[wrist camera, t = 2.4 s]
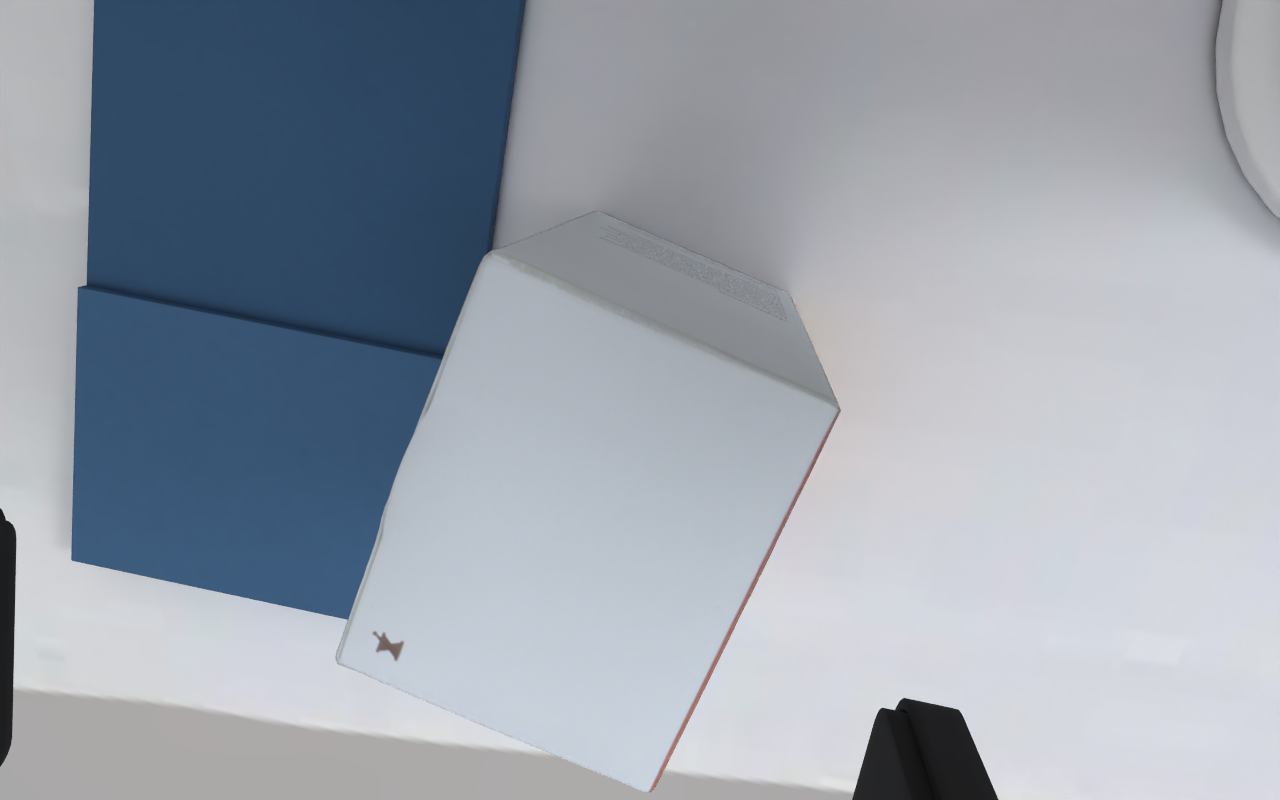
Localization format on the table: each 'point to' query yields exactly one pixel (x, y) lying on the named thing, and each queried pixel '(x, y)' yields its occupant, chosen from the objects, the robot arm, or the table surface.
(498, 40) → the cloth
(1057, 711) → the table surface
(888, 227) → the table surface
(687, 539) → the small box
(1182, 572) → the table surface
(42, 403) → the table surface
